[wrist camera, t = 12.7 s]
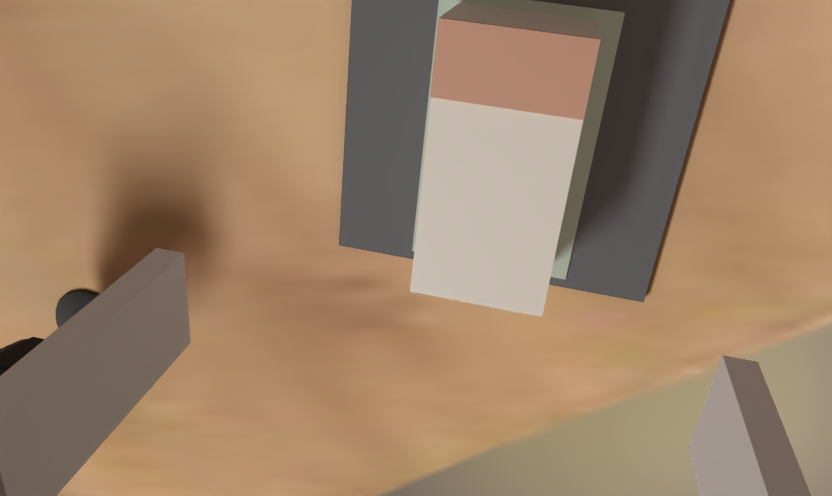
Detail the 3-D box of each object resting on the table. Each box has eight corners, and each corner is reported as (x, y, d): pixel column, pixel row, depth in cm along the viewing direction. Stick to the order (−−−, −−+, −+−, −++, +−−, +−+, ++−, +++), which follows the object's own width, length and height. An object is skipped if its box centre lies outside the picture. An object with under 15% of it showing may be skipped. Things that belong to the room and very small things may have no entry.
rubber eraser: (546, 266, 35) (541, 319, 30) (431, 245, 36) (409, 293, 31) (597, 20, 30) (600, 39, 25) (459, 2, 31) (438, 18, 26)
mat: (368, -251, 28) (364, -253, 27) (789, -217, 25) (793, -220, 25) (341, 242, 38) (338, 246, 37) (642, 298, 35) (643, 303, 35)
